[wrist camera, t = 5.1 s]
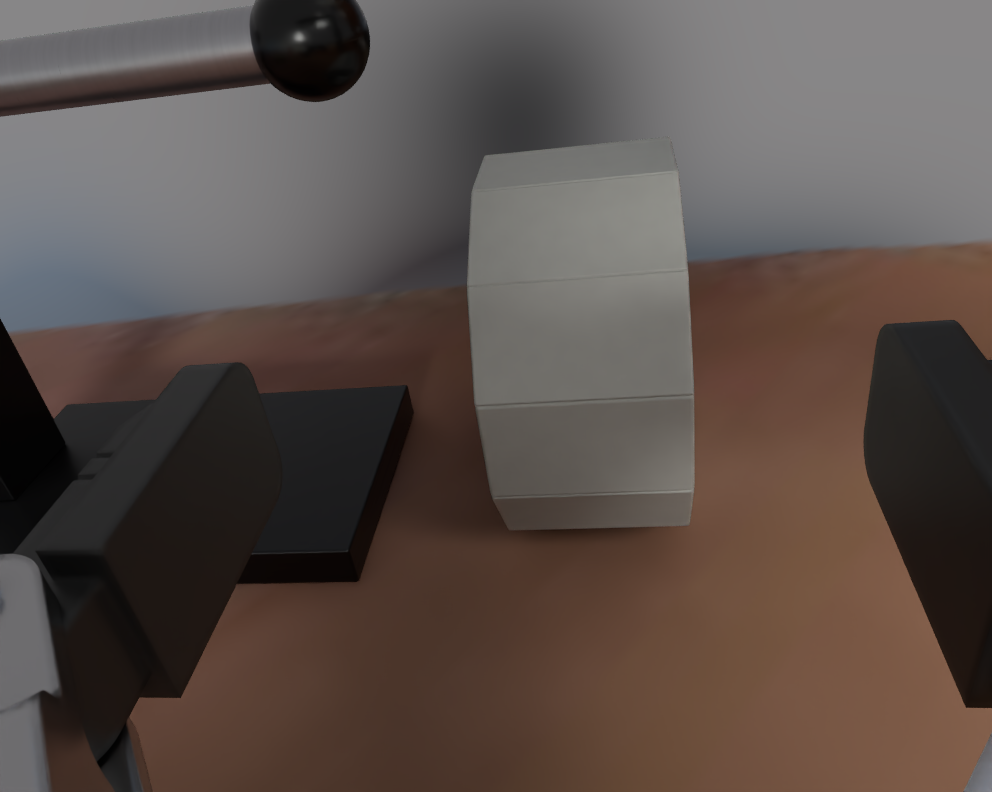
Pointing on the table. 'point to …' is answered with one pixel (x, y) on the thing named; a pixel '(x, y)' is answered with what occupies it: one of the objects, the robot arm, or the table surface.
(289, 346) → the table surface
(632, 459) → the tape roll
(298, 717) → the table surface
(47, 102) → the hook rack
